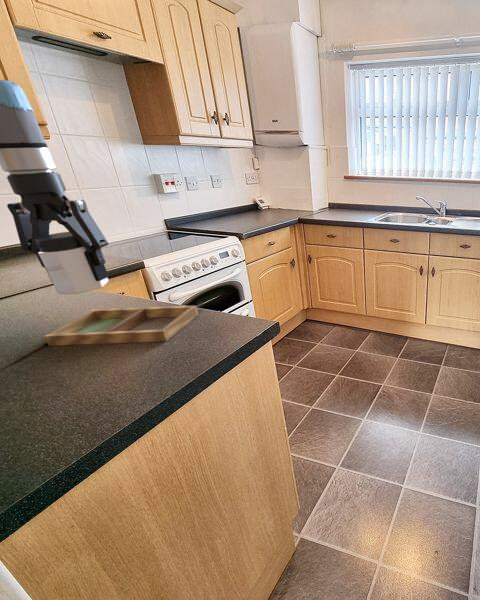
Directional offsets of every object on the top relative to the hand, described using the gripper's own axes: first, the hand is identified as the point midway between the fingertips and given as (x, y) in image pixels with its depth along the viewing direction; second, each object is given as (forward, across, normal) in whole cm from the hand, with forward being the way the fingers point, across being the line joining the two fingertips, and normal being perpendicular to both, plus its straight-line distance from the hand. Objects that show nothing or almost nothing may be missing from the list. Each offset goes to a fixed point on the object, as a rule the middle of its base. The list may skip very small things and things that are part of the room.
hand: (81, 279), depth 75 cm
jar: (+2, 0, 0) cm, 2 cm away
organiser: (+13, -6, 0) cm, 14 cm away
